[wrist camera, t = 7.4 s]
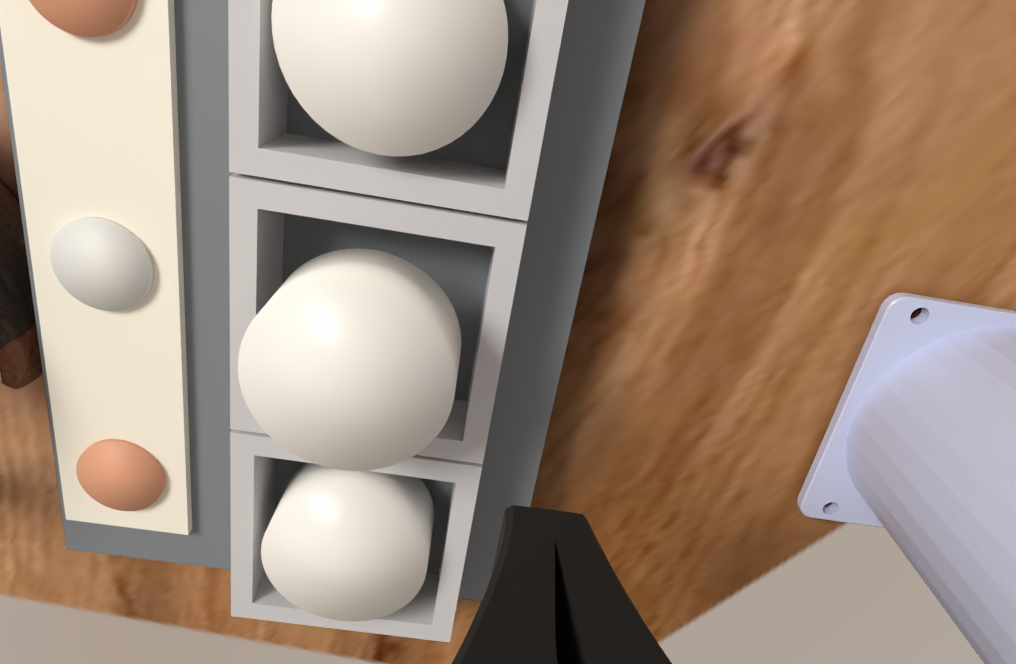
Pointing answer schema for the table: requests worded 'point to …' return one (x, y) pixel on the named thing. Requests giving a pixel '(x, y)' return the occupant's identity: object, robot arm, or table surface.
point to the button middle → (353, 361)
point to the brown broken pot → (16, 300)
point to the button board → (287, 268)
